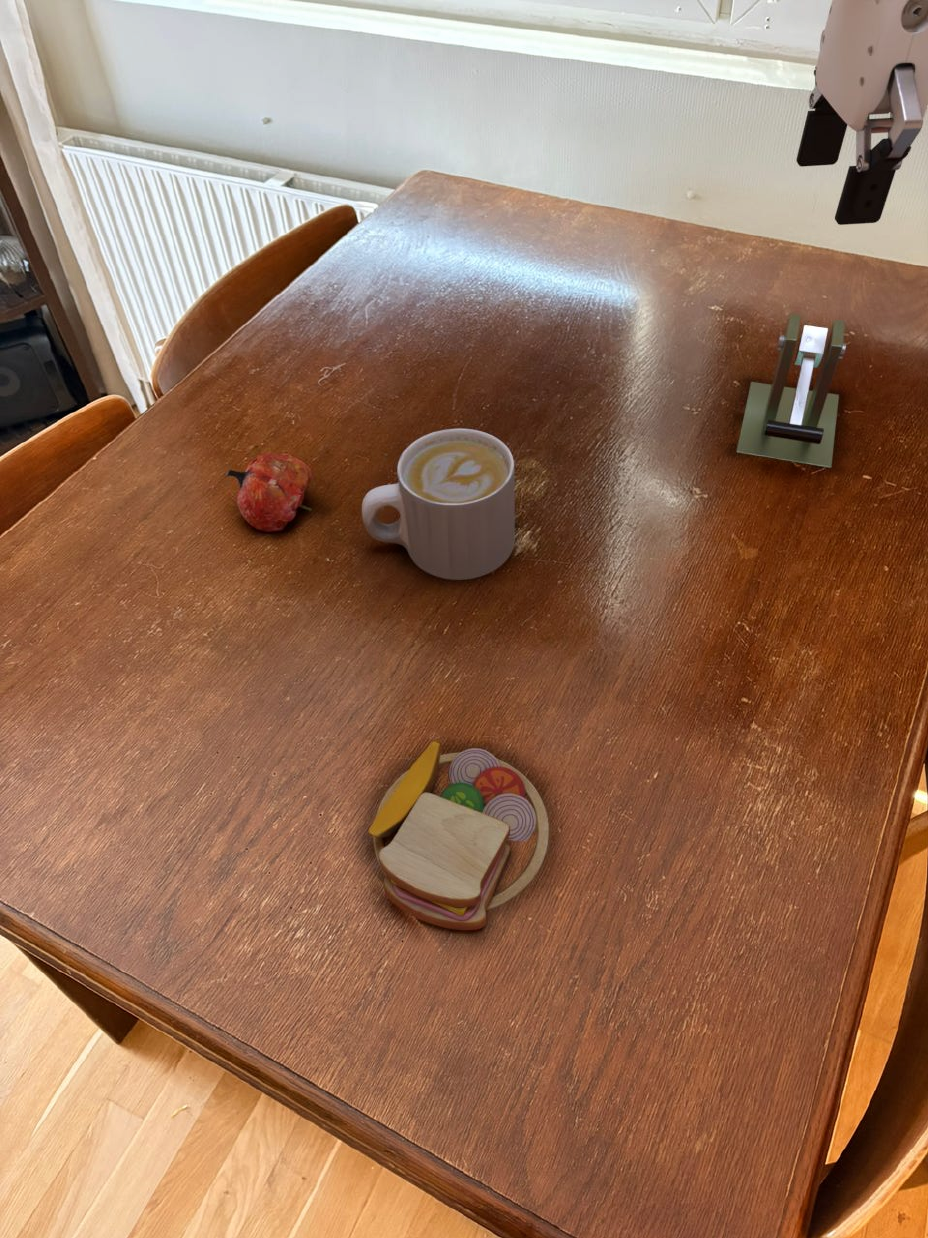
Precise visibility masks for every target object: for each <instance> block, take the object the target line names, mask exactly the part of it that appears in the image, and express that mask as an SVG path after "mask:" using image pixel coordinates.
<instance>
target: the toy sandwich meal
mask: <svg viewBox="0 0 928 1238" xmlns="http://www.w3.org/2000/svg"><path fill="white" fill-rule="evenodd" d="M441 748H442V747H441V744H440V743H439V742H437V741H434V740H433V741H432V742H430V743H429V745H428V746H427V747H426V748H425V750H423V752H422V754H421V755H420V756H419V757H418V758H417V759H416V760H415V761H414V762H413V763H412V765H411V766H410V768H409V769H408V770H406V771H405V772H404V773H403V774H401V775H400V776H399V777H398V778H397V779H396V780H395V781H394V782H393V784H392V785H390V787H389V788H388V790H387V791H386V792H385V794H384V796H383V797H382V799H381V801H380V803H379V805H378V808H377V811H376V813H375V818H374V819H373V821H372V823H371V825H370V827H369V828H368V834H369V835H370V836H372V837H373V838H372V839H373V841H372V842H373V849H374V853H375V857H376V860H377V863H378V864H379V867H380V869H381V872H382V873H383V875H384V878H383V882H382V883H383V891H384V893H385V896H386V898H388V899H389V900H390V901H391V903H393V904H394V905H395V906H396V907H397V908H399V909H400V910H402V911H403V912H405V913H406V914H408V915H409V916H412V918H413V917H414V919H415V918H416V919H418V920H420V921H423V922H425V923H428V924H430V925H434V926H437V927H440V928H444V929H451V930H457V931H458V930H459V931H477V930H481V929H483V928H484V927H485V926H486V925H487V911H489V910H492V909H495V908H497V907H499V906H501V905H504V904H505V903H507V902H509V901H510V900H511V899H514V898H515V897H516V896H517V895H519V894H520V893H521V892H522V891H524V890H525V888H526V887H527V886H528V885H529V884H530V883H531V882H532V881H533V879H535V877H536V875H537V874H538V873H539V870H540V868H541V867H542V864H543V862H544V860H545V857H546V854H547V851H548V846H549V839H550V824H549V818H548V813H547V810H546V806H545V803H544V802H543V799H542V797H541V795H540V794H539V792H538V790H537V789H536V787H535V786H534V784H532V782H531V781H530V780H529V779H528V778H527V777H526V775H524V774H523V773H522V772H521V771H519V770H518V769H517V768H515V767H514V766H512V765H510V764H509V763H507V762H505V761H503V760H501V759H498V758H496V757H495V756H494V755H493V754H492V753H491V752H489V751H488V750H486V749H482V748H476V747H471V748H468V749H465V750H463V751H461V752H451V753H444V754H441ZM447 764H450V765H449V768H448V780H449V784H450V785H448V786H447V787H445V788H444V789H443V790H442V792H440V794H439V795H437V794H434V793H433V791H434V789H435V787H436V783H437V778H438V772H439V766H443V765H447ZM526 797H527V799H526ZM535 831H537V834H536V842H535V847H534V851H533V853H532V857H531V858H530V860H529V862H528V864H527V866H526V867H525V869H524V870H523V872H522V873H521V874H520V875H519V877H518V878H516V879H515V881H513V882H512V883H511V884H510V885H508V886H507V887H506V888H504V889H502V890H501V891H499V892H497V890H498V887H499V884H500V883H501V880H502V878H503V875H504V874H505V873H504V872H505V870H506V868H507V866H508V863H509V860H510V858H511V854H512V847H511V846H510V845H509V844H508V843H507V842H508V841H514V842H518V843H523V842H527V841H528V840H529V839H530V838H531V837H532V836H533V835H534V833H535ZM396 832H397V833H396ZM395 833H396V834H395ZM394 834H395V835H394ZM393 835H394V837H393V839H392V840H391V841H390V843H388V844H387V845H386V840H385V838H389V837H391V836H393ZM496 892H497V893H496ZM495 893H496V894H495Z"/></svg>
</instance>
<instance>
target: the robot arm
mask: <svg viewBox="0 0 928 1238" xmlns="http://www.w3.org/2000/svg"><path fill="white" fill-rule="evenodd" d="M816 62H817V63H816V66H815V68H814V70H813V76H814V88H813V89H812V90H811V92H810V94H809V97H808V108H809V110H807V114H806V118H805V122H804V125H803V130H802V134H801V138H800V143H799V147H798V151H797V155H796V160H795V161H796V163H797V165H798V166H799V167H802V168H803V167H816V166H833V165H835V164H836V163H838V161H839V158H840V154H841V150H842V147H843V143H844V139H845V136H846V132H847V128H848V127H849V128H850V129H852V130H853V131H855V133H856V134H855V165H849V166H848V170H847V173H846V176H845V180H844V183H843V187H842V190H841V193H840V198H839V201H838V204H837V208H836V212H835V216H834V221H835V222H836V224H837V225H839V226H844V225H862V224H875V223H878V222H879V221H880V220H881V218H882V215H883V211H884V208H885V205H886V202H887V200H888V196H889V194H890V190H891V187H892V183H893V181H894V178H895V175H896V172H897V171H898V170H900V169H901V167H902V164H903V161H904V159H905V158H906V157H908V156H909V153H910V152H911V150H912V144H913V143H914V141H915V140H916V138H917V136H918V135H919V134H920V132H921V130H922V128H923V125H924V117H925V115H926V112H927V109H928V0H832V1H831V4H830V9H829V11H828V15H827V19H826V22H825V26H824V29H823V30H822V32H821V34H820V42H819V52H818V57H817V61H816ZM886 114H887V115H888V114H889V115H890V116H889V117H880V118H870V116H871V115H872V116H873V115H886ZM886 133H887V138H882V139H881V140H880V141H879V142H877V143H876V145H874V147H872V134H886Z"/></svg>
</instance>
